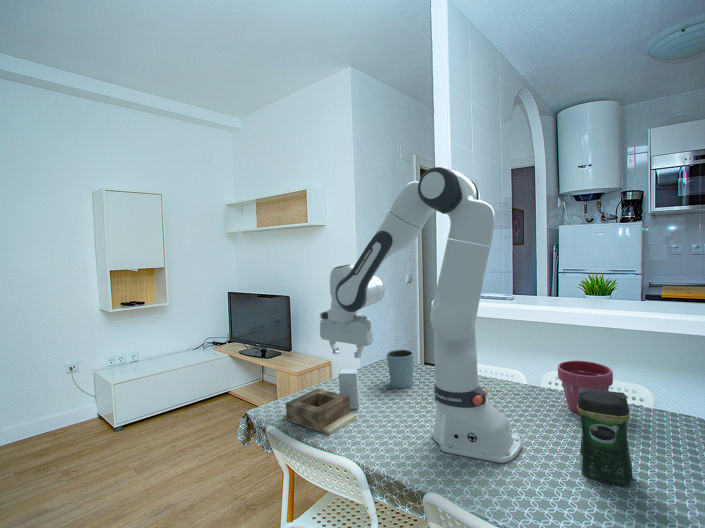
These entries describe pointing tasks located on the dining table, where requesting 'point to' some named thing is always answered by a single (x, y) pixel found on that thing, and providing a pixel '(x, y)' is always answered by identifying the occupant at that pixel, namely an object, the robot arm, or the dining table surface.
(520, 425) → the dining table surface
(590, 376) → the plant pot
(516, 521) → the dining table surface
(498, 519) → the dining table surface
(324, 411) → the socket
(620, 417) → the coffee jar
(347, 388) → the skincare box
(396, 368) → the blue-grey flower pot
